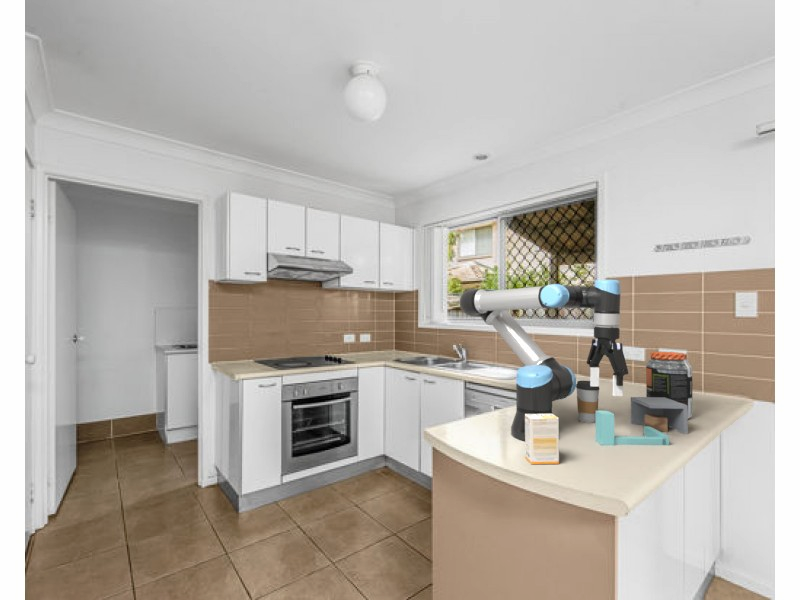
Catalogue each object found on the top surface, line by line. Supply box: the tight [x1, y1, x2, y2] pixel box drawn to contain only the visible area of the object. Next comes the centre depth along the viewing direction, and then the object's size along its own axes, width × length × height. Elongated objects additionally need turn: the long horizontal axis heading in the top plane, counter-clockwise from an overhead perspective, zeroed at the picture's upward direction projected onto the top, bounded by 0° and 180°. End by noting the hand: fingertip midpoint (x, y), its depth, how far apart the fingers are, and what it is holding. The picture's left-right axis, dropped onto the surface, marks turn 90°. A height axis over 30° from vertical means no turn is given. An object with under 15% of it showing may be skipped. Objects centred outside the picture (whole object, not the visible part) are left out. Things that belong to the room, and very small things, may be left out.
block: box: [644, 414, 668, 433], centre depth 140 cm, size 5×5×5 cm
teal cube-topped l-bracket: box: [595, 410, 670, 446], centre depth 129 cm, size 22×11×10 cm, turn 89°
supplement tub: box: [645, 351, 694, 419], centre depth 160 cm, size 16×16×26 cm
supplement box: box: [524, 413, 560, 465], centre depth 110 cm, size 8×5×13 cm, turn 92°
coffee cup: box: [575, 380, 600, 424], centre depth 151 cm, size 8×8×15 cm
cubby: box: [630, 396, 689, 435], centre depth 142 cm, size 13×12×10 cm
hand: (605, 390), depth 127 cm, fingers open, 13 cm apart
